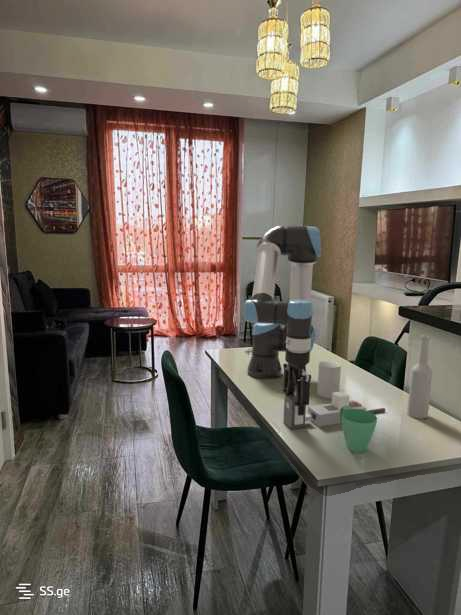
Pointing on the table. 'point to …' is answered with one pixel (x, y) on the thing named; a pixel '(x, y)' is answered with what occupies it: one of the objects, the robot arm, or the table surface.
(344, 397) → the block
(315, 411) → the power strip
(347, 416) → the mug
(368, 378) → the table surface
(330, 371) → the pale pink cylinder
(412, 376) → the bottle
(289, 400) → the grey rectangular block
